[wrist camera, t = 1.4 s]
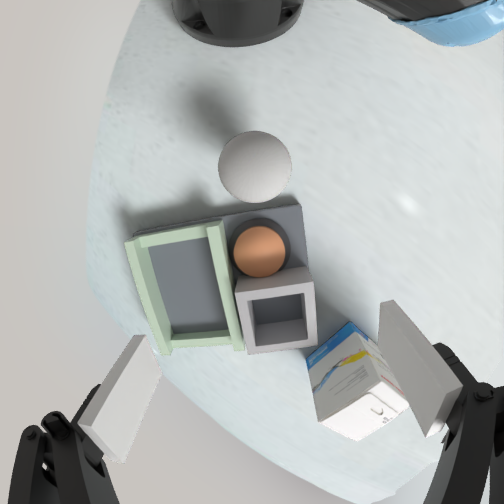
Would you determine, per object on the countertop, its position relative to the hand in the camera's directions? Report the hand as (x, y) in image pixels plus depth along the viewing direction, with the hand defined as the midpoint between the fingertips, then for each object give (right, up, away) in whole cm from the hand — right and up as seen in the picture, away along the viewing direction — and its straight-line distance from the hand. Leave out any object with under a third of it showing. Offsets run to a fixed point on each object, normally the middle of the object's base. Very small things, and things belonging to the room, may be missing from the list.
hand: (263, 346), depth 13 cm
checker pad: (0, +5, +16) cm, 17 cm away
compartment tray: (-4, +1, +19) cm, 19 cm away
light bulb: (0, +14, +15) cm, 20 cm away
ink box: (+12, -10, +22) cm, 27 cm away
